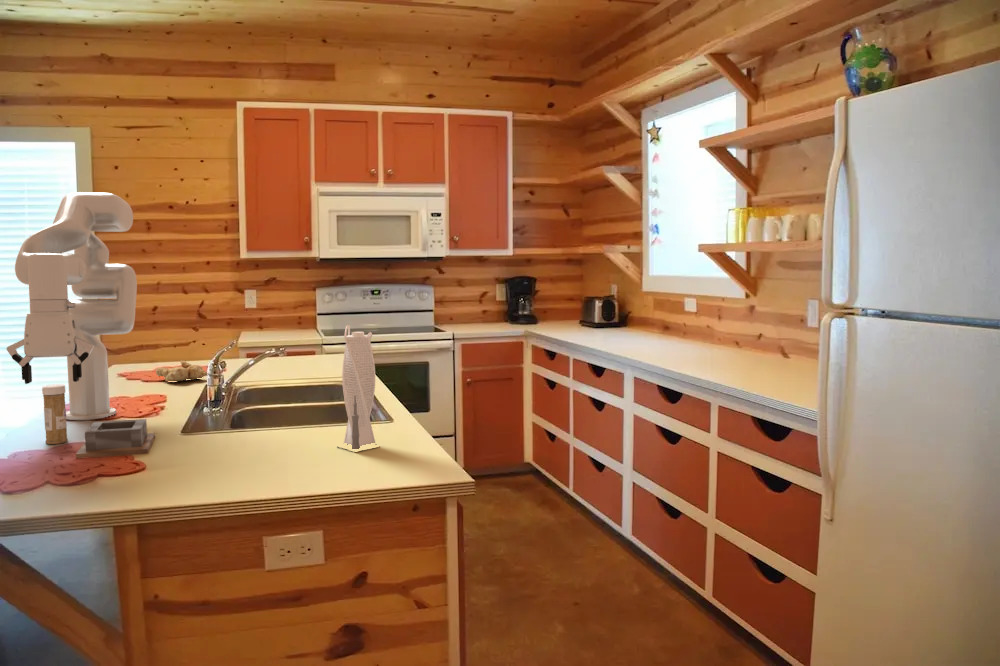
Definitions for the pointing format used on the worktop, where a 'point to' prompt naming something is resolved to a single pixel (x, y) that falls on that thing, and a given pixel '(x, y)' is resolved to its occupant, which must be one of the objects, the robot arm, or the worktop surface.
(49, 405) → the sprinkles bottle
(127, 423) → the socket
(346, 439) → the skyscraper
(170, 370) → the ginger root
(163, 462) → the worktop surface
